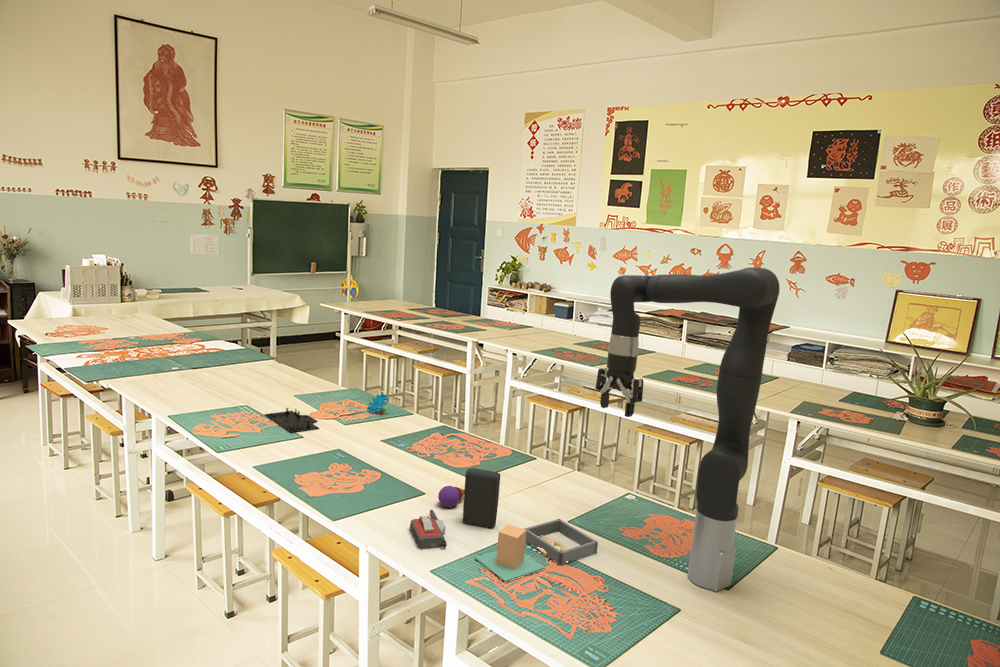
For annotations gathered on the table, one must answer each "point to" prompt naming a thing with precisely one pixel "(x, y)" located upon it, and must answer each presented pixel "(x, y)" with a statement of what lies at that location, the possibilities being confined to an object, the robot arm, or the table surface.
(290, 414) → the circuit board
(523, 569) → the mat
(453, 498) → the kendama
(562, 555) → the grey rectangular frame
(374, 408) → the gear
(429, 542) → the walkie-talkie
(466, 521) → the card reader
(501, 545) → the block
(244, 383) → the table surface
